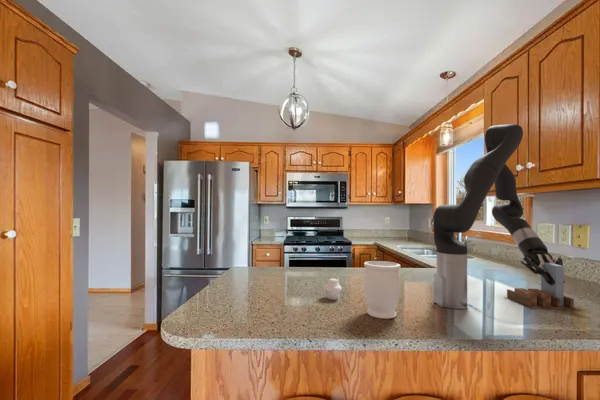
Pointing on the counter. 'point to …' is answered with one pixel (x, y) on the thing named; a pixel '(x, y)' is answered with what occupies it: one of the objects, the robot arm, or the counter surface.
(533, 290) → the offcut
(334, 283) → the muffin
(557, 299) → the rack
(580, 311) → the counter surface
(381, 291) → the jar
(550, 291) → the tall board
